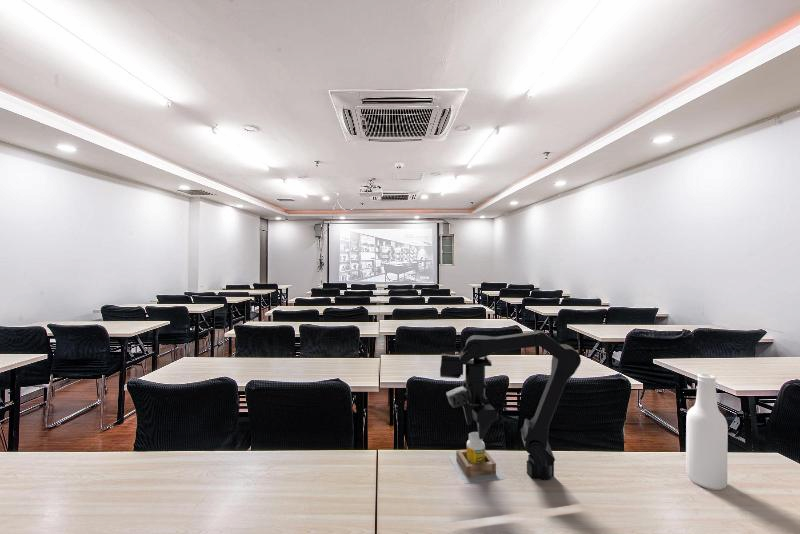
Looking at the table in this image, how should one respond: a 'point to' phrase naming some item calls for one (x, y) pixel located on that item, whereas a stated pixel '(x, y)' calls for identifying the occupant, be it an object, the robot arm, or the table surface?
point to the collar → (475, 465)
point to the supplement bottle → (475, 449)
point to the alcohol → (706, 438)
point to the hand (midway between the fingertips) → (474, 431)
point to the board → (475, 478)
